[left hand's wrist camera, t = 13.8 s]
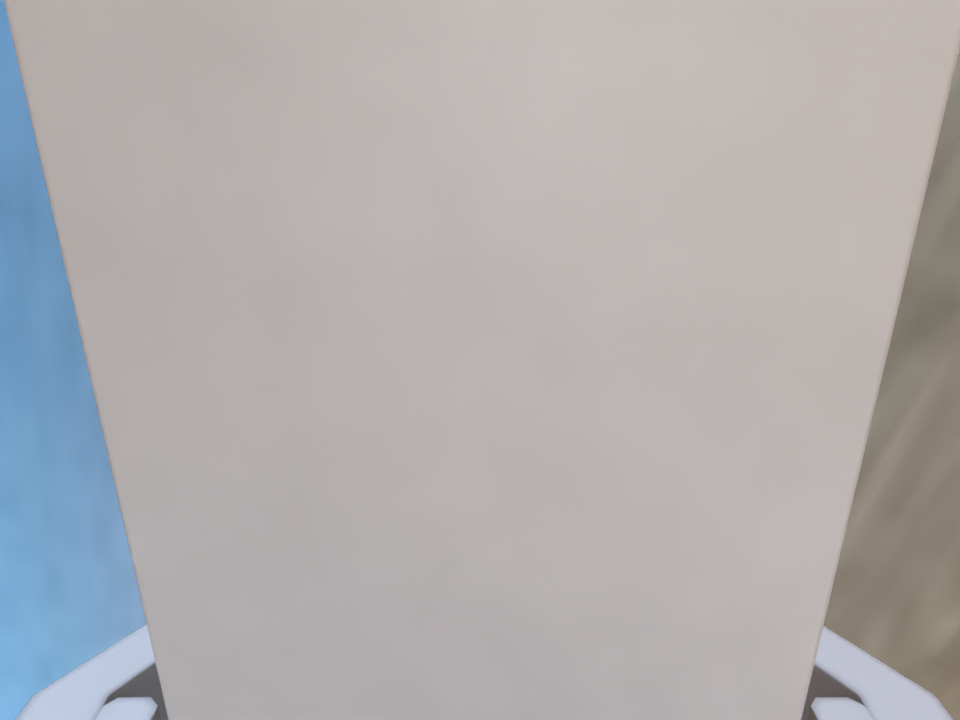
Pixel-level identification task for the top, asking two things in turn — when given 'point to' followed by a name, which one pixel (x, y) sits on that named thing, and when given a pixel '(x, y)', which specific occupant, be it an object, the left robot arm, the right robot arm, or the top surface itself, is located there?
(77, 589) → the top surface
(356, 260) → the bar
